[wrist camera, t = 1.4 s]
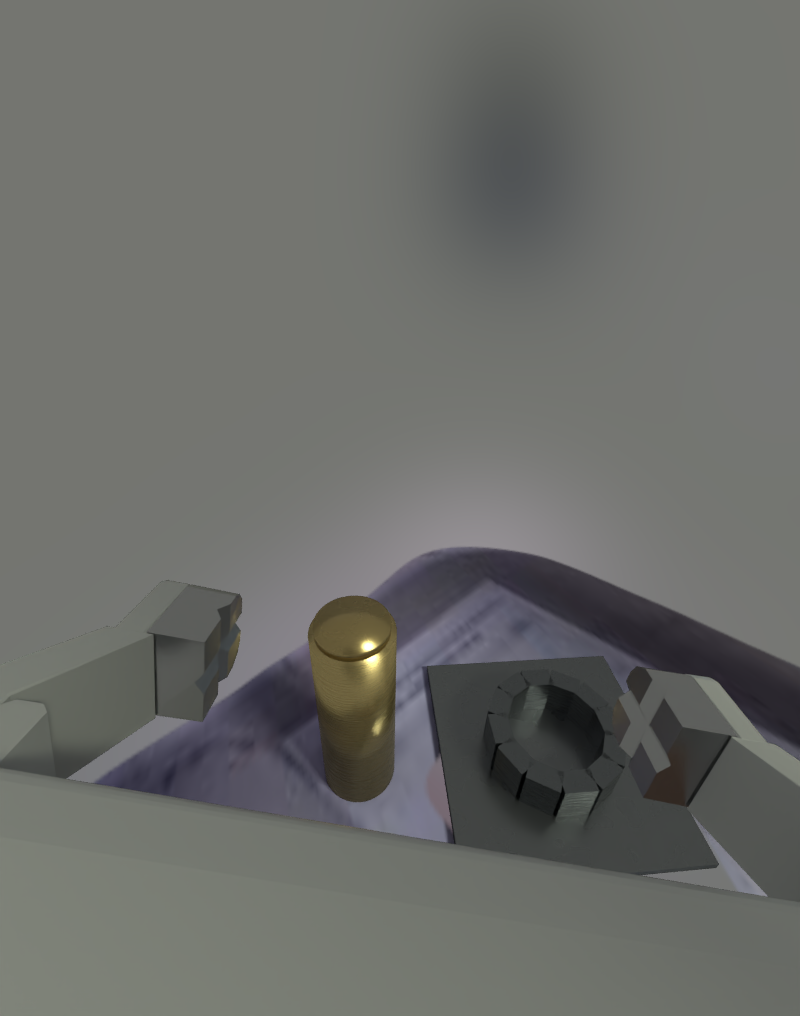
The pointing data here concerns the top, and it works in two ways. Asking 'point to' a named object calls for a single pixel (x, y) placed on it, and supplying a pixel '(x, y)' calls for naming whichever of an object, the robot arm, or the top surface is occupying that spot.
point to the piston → (355, 694)
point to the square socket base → (551, 769)
